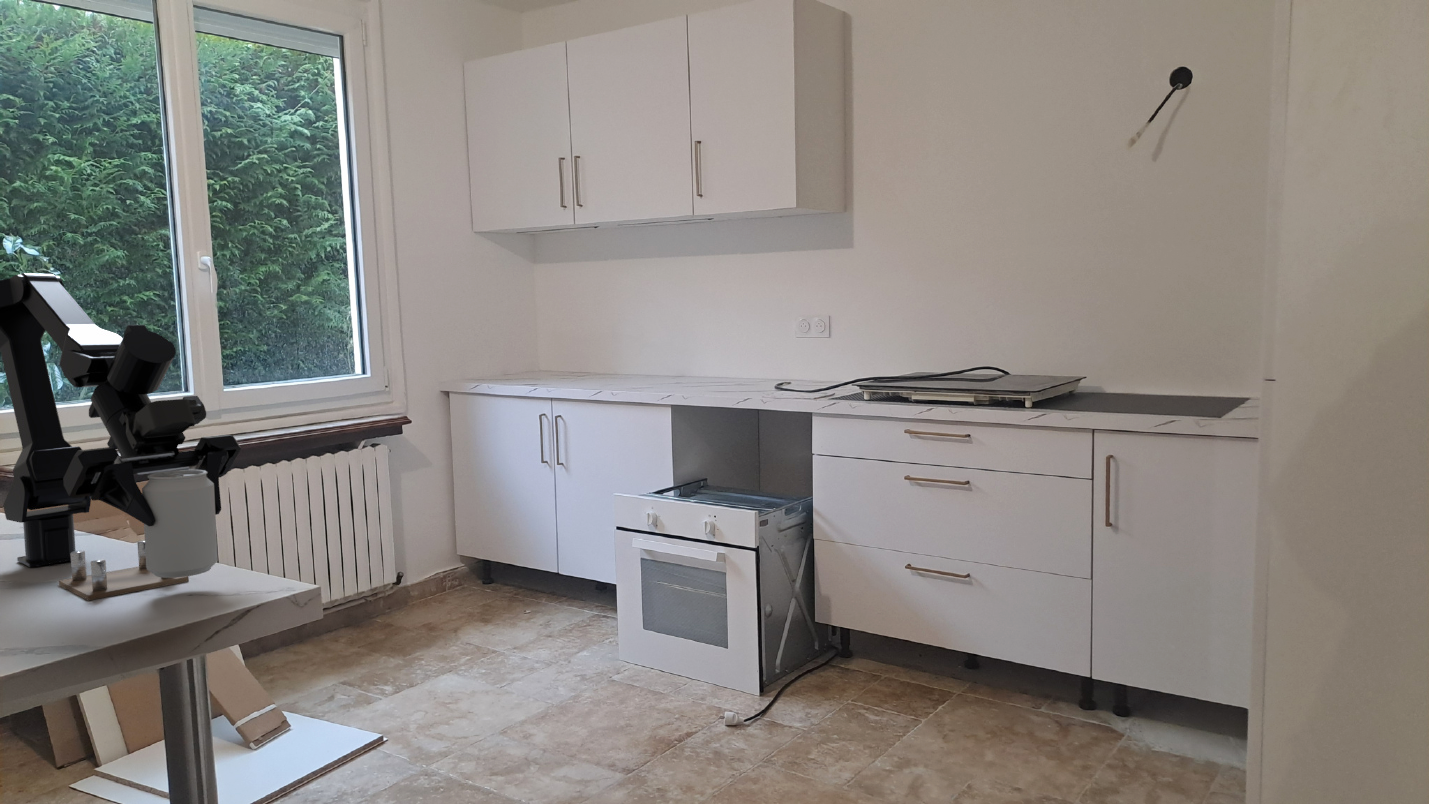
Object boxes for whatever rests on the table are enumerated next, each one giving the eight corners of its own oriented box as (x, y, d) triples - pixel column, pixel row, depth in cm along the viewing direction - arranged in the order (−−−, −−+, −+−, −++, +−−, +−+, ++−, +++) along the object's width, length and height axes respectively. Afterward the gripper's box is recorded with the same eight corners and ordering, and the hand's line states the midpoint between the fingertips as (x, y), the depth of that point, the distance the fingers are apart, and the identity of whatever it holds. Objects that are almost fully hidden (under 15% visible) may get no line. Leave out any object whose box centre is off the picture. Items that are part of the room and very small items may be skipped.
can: (187, 581, 112) (182, 477, 111) (131, 578, 113) (125, 476, 112) (232, 565, 119) (227, 467, 118) (178, 562, 120) (173, 466, 120)
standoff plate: (59, 585, 121) (56, 552, 120) (155, 568, 129) (153, 537, 129) (88, 600, 113) (86, 565, 113) (188, 581, 122) (186, 548, 121)
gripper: (69, 379, 108) (127, 485, 103) (229, 371, 124) (285, 463, 119) (39, 445, 113) (93, 549, 108) (197, 429, 129) (250, 520, 124)
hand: (186, 518), depth 115 cm, fingers closed on can, 7 cm apart
